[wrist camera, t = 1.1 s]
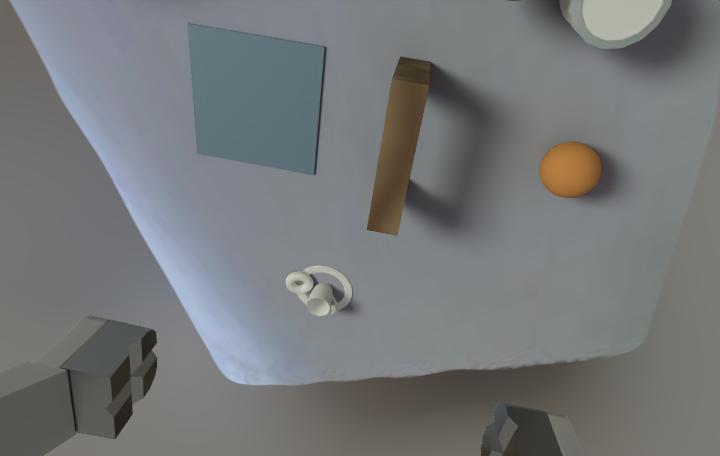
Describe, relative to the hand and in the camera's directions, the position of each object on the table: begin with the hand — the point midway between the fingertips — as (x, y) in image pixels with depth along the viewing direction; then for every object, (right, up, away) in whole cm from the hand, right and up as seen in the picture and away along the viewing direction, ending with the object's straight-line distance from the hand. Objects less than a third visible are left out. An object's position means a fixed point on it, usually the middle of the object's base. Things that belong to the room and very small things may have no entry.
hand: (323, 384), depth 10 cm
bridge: (+5, +14, +36) cm, 39 cm away
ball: (+22, +9, +33) cm, 41 cm away
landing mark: (-10, +17, +37) cm, 42 cm away
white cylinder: (+21, +24, +28) cm, 42 cm away
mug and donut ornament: (-4, -2, +49) cm, 49 cm away
